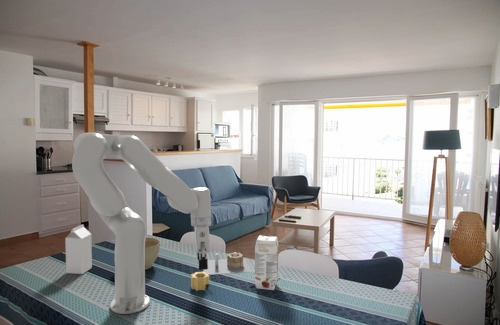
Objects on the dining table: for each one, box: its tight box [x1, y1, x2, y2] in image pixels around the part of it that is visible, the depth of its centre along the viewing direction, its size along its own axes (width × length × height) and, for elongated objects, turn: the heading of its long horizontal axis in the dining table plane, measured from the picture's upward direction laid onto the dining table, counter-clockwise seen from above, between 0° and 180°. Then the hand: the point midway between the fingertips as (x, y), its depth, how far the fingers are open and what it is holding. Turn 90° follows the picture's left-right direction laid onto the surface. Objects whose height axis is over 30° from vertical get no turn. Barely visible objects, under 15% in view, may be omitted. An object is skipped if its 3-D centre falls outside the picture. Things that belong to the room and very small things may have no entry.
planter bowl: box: [145, 236, 161, 271], centre depth 147 cm, size 16×16×11 cm
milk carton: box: [64, 224, 93, 275], centre depth 141 cm, size 7×7×19 cm
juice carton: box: [254, 234, 279, 291], centre depth 129 cm, size 8×9×19 cm
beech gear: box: [226, 252, 244, 268], centre depth 147 cm, size 7×7×4 cm
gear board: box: [202, 252, 253, 276], centre depth 146 cm, size 16×20×7 cm
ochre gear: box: [190, 271, 210, 292], centre depth 129 cm, size 7×7×4 cm
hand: (202, 264), depth 129 cm, fingers open, 9 cm apart
